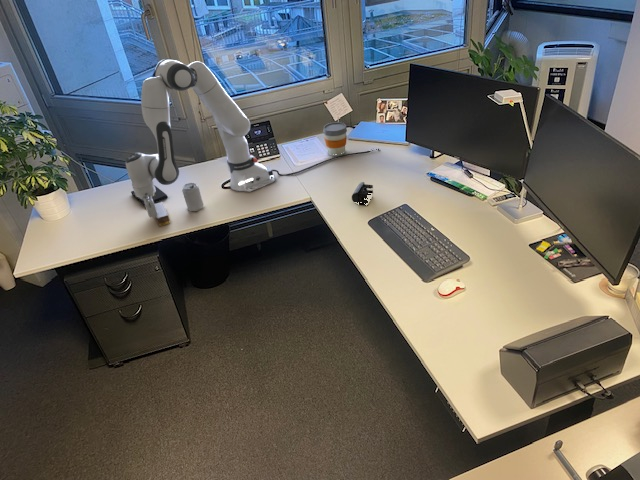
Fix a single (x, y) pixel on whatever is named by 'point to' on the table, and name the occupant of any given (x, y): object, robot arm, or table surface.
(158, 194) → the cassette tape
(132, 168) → the robot arm
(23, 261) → the table surface
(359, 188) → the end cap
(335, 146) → the reusable coffee cup
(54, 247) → the table surface
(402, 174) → the table surface
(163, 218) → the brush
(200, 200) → the can
